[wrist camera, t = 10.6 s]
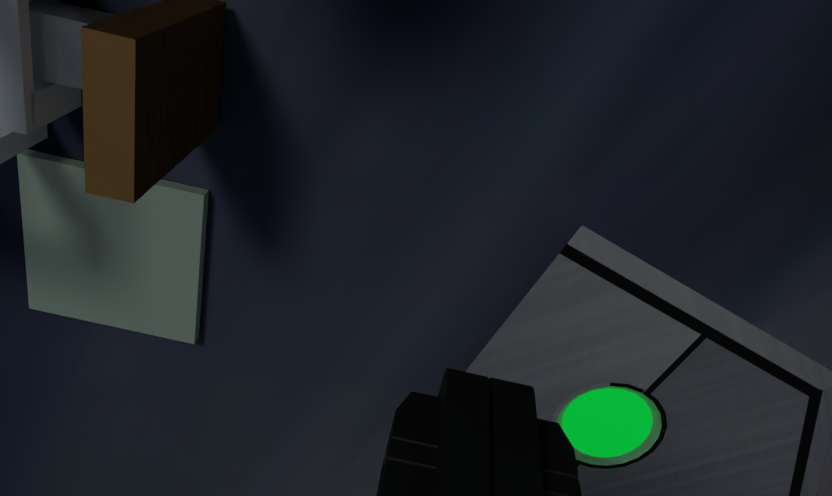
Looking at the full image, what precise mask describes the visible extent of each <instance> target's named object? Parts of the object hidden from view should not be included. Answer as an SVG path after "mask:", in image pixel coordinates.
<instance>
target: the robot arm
mask: <svg viewBox="0 0 832 496" xmlns="http://www.w3.org/2000/svg"><path fill="white" fill-rule="evenodd" d="M377 496H582V495H581V488H580V482H579V480H578V469H577V463H576V457H575V451H574V447H573V446H572V444H571V442H570V441H569V439H568V438H567V436H566V434H565V433H564V431H563V430H562V428H561V426H560V425H559V423H556V422H552V421H547V420H542V419H538V418H537V412H536V401H535V392H534V388H533V387H532V386H529V385H524V384H519V383H515V382H510V381H506V380H501V379H496V378H492V377H491V378H490V379H489V378H488V377H486V376H482V375H477V374H473V373H468V372H463V371H459V370H454V369H450V368H447V369H446V371H445V374H444V377H443V380H442V384H441V387H440V391H439V395H438V397H435V396H431V395H426V394H421V393H417V392H411V393H410V394H409V395H408V396H407V398H406V399H405V400H404V401H403V402H402V403H401V405H400V406H399V407H398V408H397V409H396V412H395V416H394V420H393V424H392V428H391V432H390V437H389V441H388V445H387V449H386V453H385V457H384V461H383V466H382V470H381V474H380V480H379V485H378V491H377Z"/></svg>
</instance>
